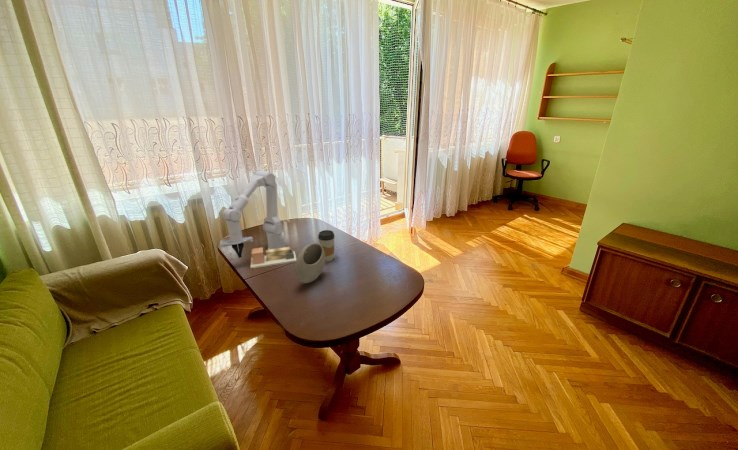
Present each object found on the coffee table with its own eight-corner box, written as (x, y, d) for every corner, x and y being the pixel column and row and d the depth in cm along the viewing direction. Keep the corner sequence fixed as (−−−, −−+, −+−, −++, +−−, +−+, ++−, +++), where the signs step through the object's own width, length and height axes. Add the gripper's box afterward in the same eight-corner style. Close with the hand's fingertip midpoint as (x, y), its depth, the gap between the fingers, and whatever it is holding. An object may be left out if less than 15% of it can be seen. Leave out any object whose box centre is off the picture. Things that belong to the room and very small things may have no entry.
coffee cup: (338, 256, 158) (337, 231, 152) (330, 264, 151) (328, 237, 146) (325, 253, 162) (323, 228, 156) (316, 260, 155) (314, 234, 149)
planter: (304, 293, 129) (300, 255, 122) (292, 288, 132) (287, 251, 125) (330, 273, 143) (328, 238, 136) (319, 269, 147) (317, 235, 139)
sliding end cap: (264, 257, 156) (262, 247, 153) (264, 262, 151) (262, 252, 148) (253, 259, 154) (252, 248, 152) (253, 264, 149) (251, 253, 147)
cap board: (294, 252, 162) (294, 246, 161) (296, 261, 154) (295, 255, 152) (251, 259, 156) (250, 252, 155) (250, 268, 147) (249, 262, 146)
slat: (290, 254, 158) (289, 246, 156) (290, 257, 156) (289, 249, 154) (267, 258, 155) (265, 250, 153) (267, 261, 152) (265, 252, 150)
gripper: (249, 226, 150) (253, 250, 155) (217, 232, 143) (223, 256, 148) (251, 231, 144) (256, 255, 149) (219, 237, 137) (224, 262, 143)
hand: (239, 256), depth 148 cm, fingers closed
